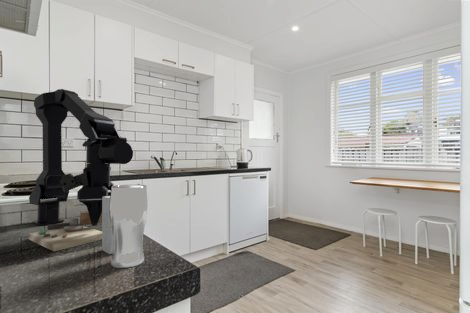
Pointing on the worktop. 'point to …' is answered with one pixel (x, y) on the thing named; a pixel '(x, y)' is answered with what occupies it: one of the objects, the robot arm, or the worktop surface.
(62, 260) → the worktop surface
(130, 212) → the beer glass
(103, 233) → the skincare box
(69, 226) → the gauge needle
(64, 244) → the dial board
